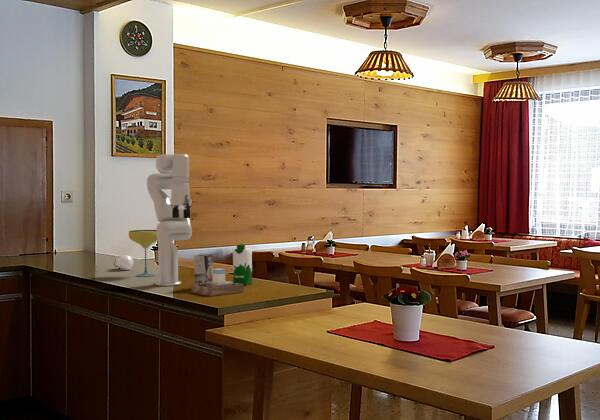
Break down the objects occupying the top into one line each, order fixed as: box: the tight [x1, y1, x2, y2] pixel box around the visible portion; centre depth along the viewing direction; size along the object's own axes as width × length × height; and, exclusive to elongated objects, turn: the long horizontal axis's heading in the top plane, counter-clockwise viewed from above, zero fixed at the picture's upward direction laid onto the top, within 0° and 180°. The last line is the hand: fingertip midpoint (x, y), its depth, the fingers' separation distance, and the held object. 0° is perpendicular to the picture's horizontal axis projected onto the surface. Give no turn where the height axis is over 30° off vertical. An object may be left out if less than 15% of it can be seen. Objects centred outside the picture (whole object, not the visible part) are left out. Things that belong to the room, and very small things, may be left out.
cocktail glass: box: [128, 229, 158, 278], centre depth 371 cm, size 18×18×25 cm
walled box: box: [190, 283, 245, 297], centre depth 308 cm, size 16×18×4 cm
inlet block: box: [206, 280, 233, 288], centre depth 309 cm, size 9×9×4 cm
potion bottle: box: [113, 254, 134, 271], centre depth 401 cm, size 9×10×15 cm
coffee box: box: [194, 253, 214, 285], centre depth 322 cm, size 9×6×16 cm
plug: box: [213, 268, 227, 283], centre depth 309 cm, size 4×4×10 cm
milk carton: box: [232, 244, 253, 287], centre depth 334 cm, size 9×9×20 cm
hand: (181, 217), depth 310 cm, fingers open, 9 cm apart
